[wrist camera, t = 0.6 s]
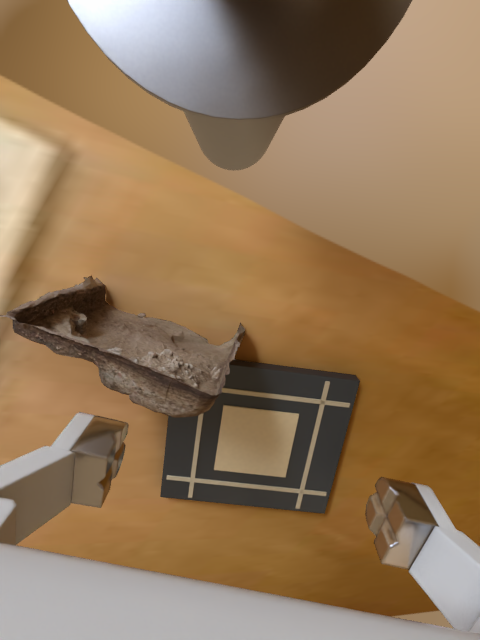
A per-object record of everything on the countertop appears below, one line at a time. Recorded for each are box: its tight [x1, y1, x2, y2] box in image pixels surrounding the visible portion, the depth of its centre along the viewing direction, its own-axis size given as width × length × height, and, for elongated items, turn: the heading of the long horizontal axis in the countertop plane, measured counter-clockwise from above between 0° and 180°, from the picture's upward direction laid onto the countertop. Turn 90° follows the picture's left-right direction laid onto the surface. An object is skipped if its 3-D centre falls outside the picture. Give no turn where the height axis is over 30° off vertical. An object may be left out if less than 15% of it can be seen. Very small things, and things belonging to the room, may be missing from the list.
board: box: [160, 360, 360, 513], centre depth 40 cm, size 18×20×2 cm
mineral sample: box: [0, 276, 245, 418], centre depth 30 cm, size 17×4×15 cm, turn 69°
